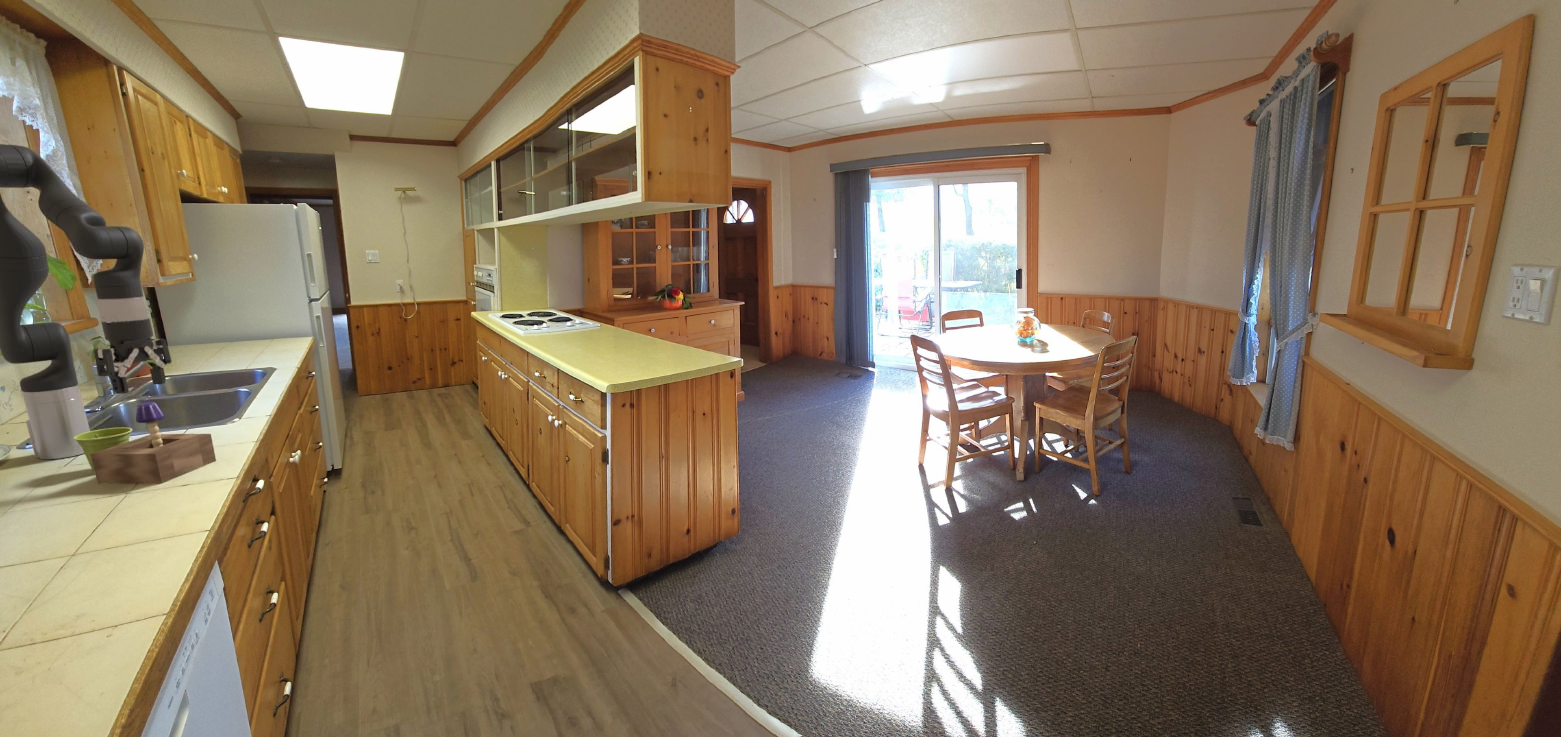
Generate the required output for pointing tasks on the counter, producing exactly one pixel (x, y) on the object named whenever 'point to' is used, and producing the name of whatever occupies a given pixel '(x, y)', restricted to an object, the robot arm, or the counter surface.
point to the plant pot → (102, 440)
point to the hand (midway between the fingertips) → (141, 388)
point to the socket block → (153, 459)
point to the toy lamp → (150, 420)
